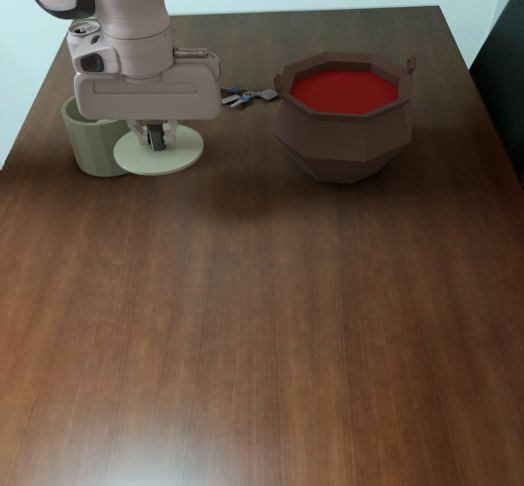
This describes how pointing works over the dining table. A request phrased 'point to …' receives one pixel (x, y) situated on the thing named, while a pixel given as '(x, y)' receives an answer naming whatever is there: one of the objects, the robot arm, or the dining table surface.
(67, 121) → the pot
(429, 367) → the dining table surface
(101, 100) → the robot arm
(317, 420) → the dining table surface
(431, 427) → the dining table surface
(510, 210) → the dining table surface
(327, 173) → the brown cauldron
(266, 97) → the key chain
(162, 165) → the lid
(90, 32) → the can
